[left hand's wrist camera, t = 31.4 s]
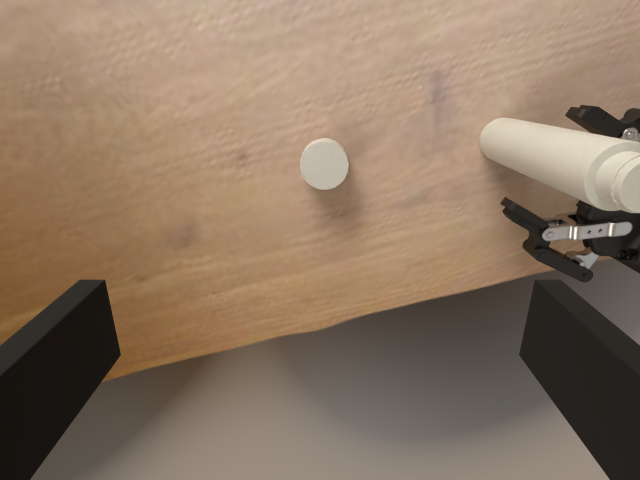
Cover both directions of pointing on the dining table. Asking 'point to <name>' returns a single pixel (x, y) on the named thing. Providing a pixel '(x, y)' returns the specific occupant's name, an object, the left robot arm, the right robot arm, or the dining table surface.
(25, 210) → the dining table surface
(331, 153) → the lid
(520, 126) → the white tall cylinder
